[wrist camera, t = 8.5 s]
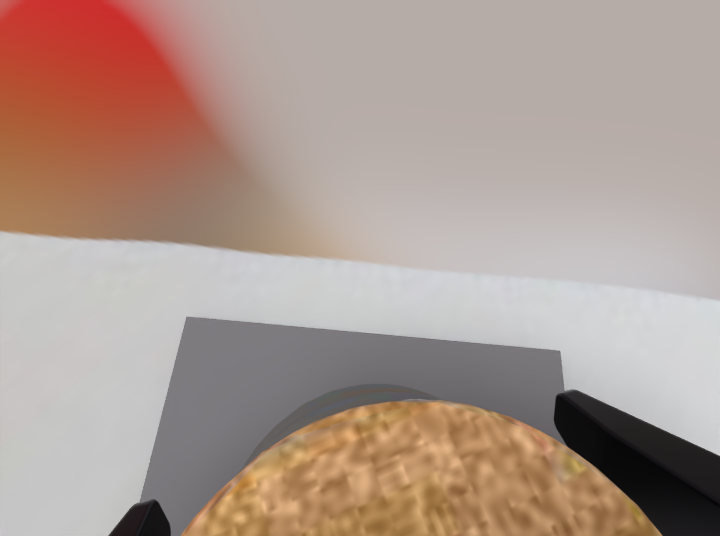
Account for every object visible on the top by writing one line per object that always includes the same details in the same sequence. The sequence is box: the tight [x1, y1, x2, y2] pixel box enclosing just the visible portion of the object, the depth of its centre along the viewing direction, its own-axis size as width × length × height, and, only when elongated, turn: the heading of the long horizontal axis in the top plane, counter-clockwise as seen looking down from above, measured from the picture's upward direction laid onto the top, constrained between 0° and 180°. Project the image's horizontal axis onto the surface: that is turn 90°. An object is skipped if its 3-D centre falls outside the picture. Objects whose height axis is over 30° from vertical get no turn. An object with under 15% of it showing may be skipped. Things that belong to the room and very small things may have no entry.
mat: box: [140, 317, 566, 536], centre depth 17 cm, size 18×12×1 cm, turn 85°
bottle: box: [181, 384, 662, 536], centre depth 10 cm, size 6×6×15 cm
